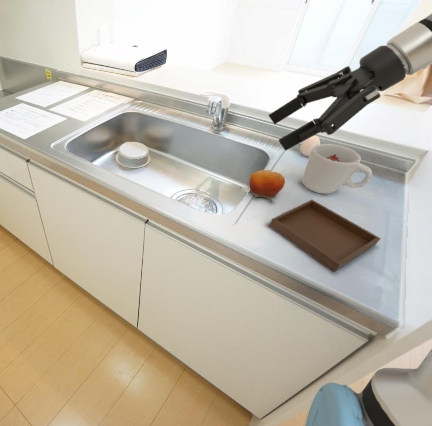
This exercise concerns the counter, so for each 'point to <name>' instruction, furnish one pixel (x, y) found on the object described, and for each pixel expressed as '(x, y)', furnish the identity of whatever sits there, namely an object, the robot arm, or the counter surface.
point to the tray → (324, 234)
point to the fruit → (266, 183)
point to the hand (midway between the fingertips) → (276, 131)
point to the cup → (333, 168)
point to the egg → (309, 145)
